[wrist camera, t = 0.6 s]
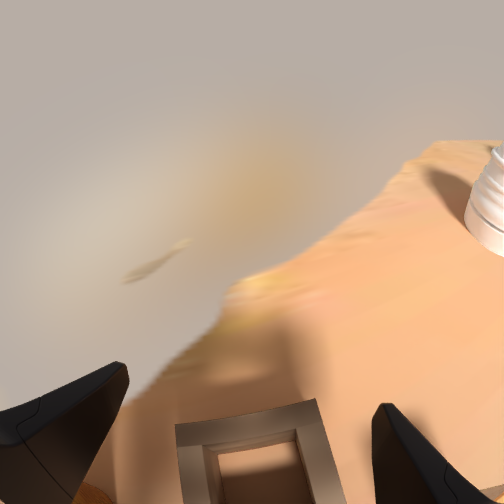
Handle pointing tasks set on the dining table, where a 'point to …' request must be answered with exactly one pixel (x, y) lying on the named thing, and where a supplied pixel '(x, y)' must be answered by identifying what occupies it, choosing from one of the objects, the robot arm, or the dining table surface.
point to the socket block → (251, 437)
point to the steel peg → (495, 493)
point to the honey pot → (488, 205)
